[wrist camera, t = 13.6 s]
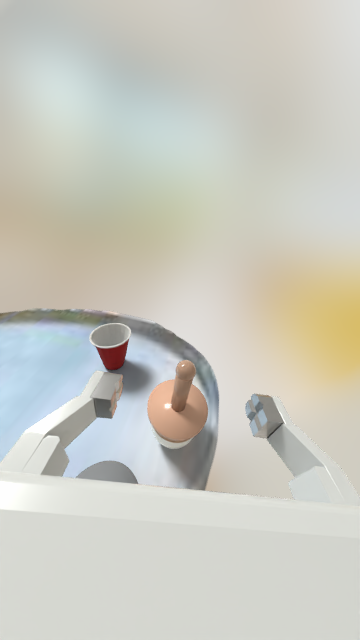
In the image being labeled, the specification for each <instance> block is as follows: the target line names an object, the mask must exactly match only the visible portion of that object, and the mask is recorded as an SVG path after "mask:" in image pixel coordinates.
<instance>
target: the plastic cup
mask: <svg viewBox="0 0 360 640" xmlns="http://www.w3.org/2000/svg"><path fill="white" fill-rule="evenodd" d="M130 336H131V330H130V328H129V327H128V326H126V325H124V324H120V323H111V324H105V325H102V326H100V327H98V328H96V329H95V330H94V331H93V332H92V333H91V334H90V339H89V340H90V341H91V343H92V344H93V345H94V346H95V347H96V348H97V350H98V353H99V355H100V357H101V359H102V361H103V364H104V366H105V367H106V368H107V369H109V370H116V369H118V368H120V367H121V366H122V365H123V363H124V360H125V356H126V351H127V345H128V341H129V338H130Z"/></svg>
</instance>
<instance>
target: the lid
mask: <svg viewBox="0 0 360 640" xmlns="http://www.w3.org/2000/svg"><path fill="white" fill-rule="evenodd" d="M195 374H196V368H195V365H194V364H193V363H192V362H191V361H188V360H183V361H181V362H180V363H178V365H177V367H176V378H175V380H168V381H165V382H163V383H161V384H159V385H158V386H157V387H156V388H155V389H154V390H153V391H152V393H151V395H150V397H149V400H148V408H147V411H148V417H149V420H150V423H151V425H152V426H153V428H154V429H155V430H156V431H157V432H158V433H159V434H160V435H161V436H163V437H165V438H167V439H169V440H173V441H185V440H189V439H191V438H193V437H195V436H196V435H197V434H198V433H199V432H200V431H201V430H202V429H203V427H204V425H205V423H206V420H207V415H208V407H207V403H206V400H205V398H204V396H203V394H202V393H201V391H200V390H199V389H198V388H197V387H195V386H194V385H193V384H192V380H193V378H194V376H195Z"/></svg>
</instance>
